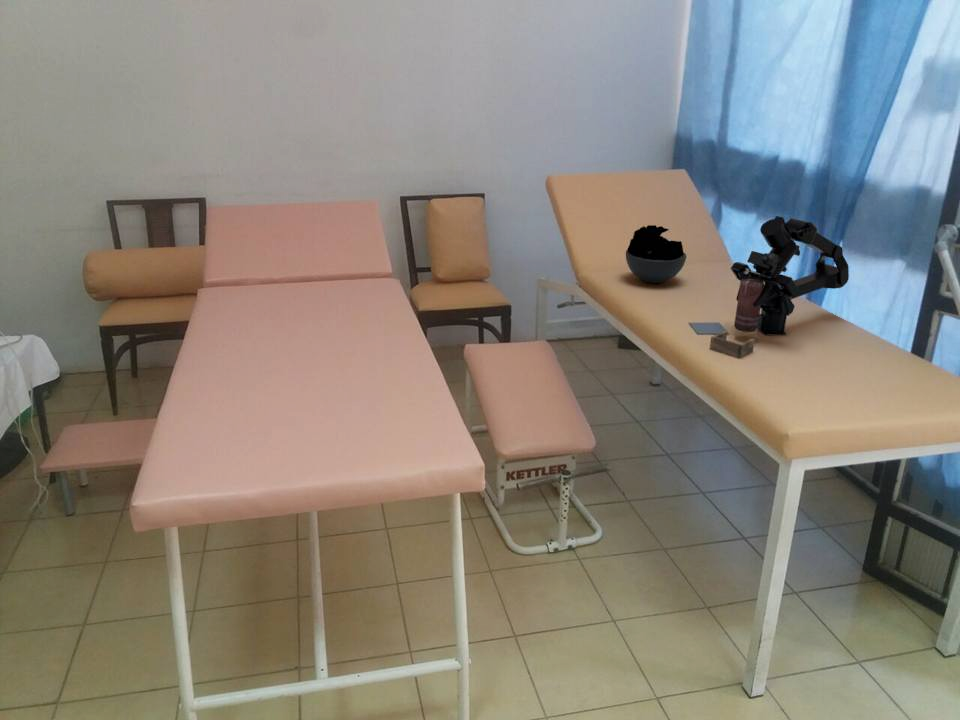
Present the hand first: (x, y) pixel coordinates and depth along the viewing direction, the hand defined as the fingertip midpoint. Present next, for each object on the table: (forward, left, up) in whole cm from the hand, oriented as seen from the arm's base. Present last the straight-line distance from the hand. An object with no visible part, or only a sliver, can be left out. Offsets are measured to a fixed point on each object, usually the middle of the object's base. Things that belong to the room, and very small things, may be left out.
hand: (745, 303), depth 212 cm
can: (-1, -1, -8) cm, 8 cm away
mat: (+6, -9, -11) cm, 15 cm away
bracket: (+4, +7, -11) cm, 14 cm away
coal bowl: (+11, -55, -11) cm, 57 cm away
